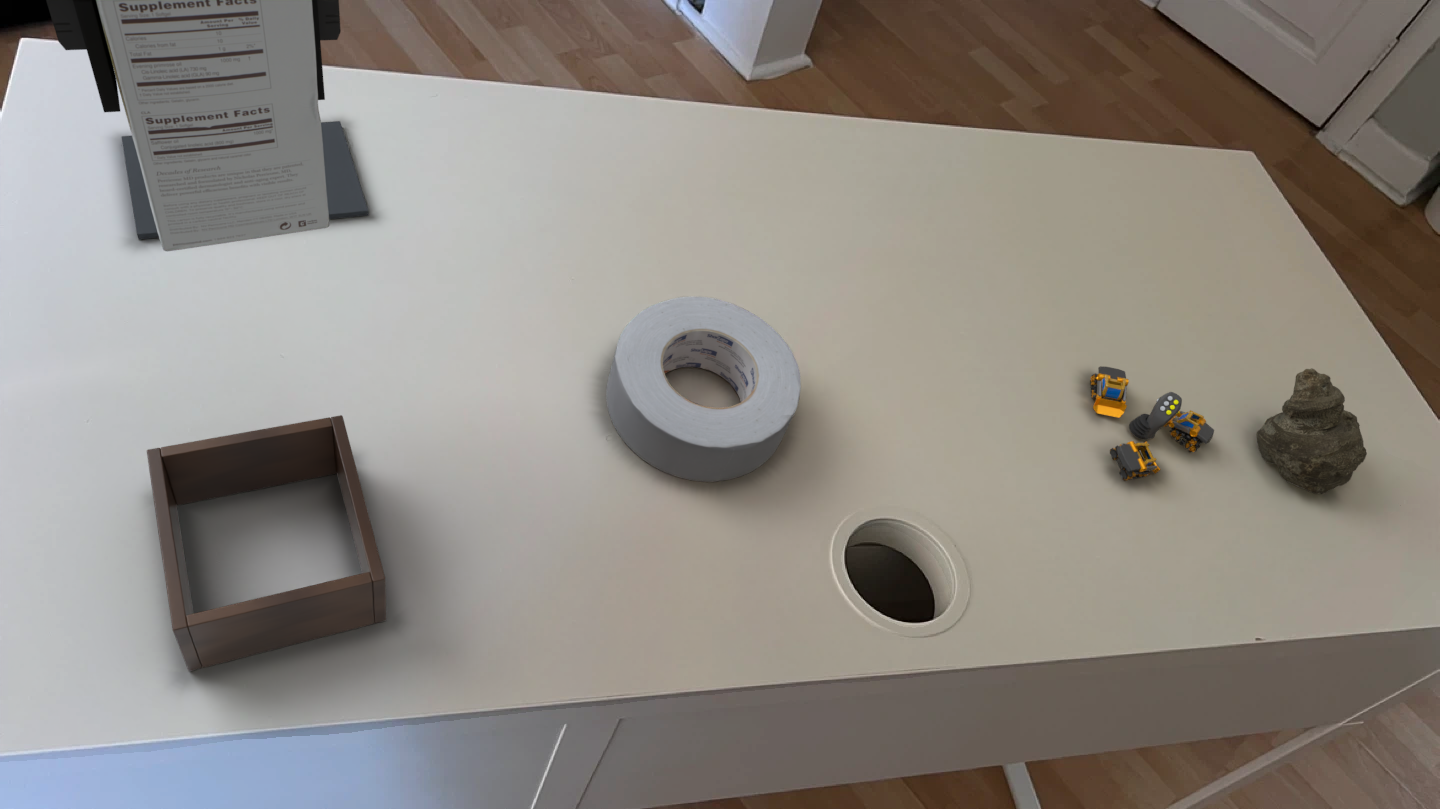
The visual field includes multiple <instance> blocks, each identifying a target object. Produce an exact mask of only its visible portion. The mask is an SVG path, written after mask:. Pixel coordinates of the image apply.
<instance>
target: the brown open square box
mask: <svg viewBox="0 0 1440 809" xmlns="http://www.w3.org/2000/svg"><path fill="white" fill-rule="evenodd" d="M146 456H147V463H148V471H149V478H150V485H151V491H152V497H153V498H152V499H153V505H154V511H155V518H156V525H157V533H158V539H159V545H160V552H161V560H162V568H163V573H164V582H165V587H166V593H167V600H168V608H169V616H170V621H171V622H170V623H171V629H172V632H173V635H174V637H175V640H176V643H177V645H178V647H179V651H180V653H181V656H182V658H183V661H184V663H185V666H186V669H187V671H188V672H193V671H196V670H201V669H203V668H209V667H212V666H216V665H220V664H223V663H228V662H232V661H235V660H239V659H243V658H248V657H251V656H255V655H258V654H262V653H266V652H269V651H274V650H277V649H281V648H285V647H289V646H293V645H297V644H302V643H305V642H309V641H312V640H317V639H321V638H324V637H329V636H332V635H336V634H340V633H344V632H348V631H351V630H355V629H359V628H363V627H366V626H370V625H374V624H379V623H383V622H386V621H387V589H386V588H387V585H386V584H387V583H386V581H387V580H386V575H385V572H384V568H383V563H382V560H381V557H380V552H379V550H378V545H377V541H376V537H375V534H374V529H373V525H372V522H371V518H370V515H369V511H368V506H367V504H366V500H365V496H364V492H363V488H362V484H361V482H360V481H361V480H360V476H359V473H358V469H357V466H356V462H355V457H354V454H353V450H352V445H351V442H350V439H349V435H348V431H347V427H346V423H345V419H344V416H343V415H341V414H340V415H335V416H331V417H323V418H318V419H313V420H307V421H301V422H295V423H290V424H284V425H278V426H272V427H268V428H262V429H255V430H250V431H246V432H245V431H244V432H238V433H233V434H228V435H223V436H216V437H212V438H206V439H199V440H194V441H188V442H182V443H178V444H172V445H166V446H161V447H155V448H149V449H147V450H146ZM332 475H336V477H337V480H338V484H339V488H340V492H341V497H342V500H343V504H344V508H345V511H346V516H347V520H348V524H349V528H350V532H351V535H352V540H353V543H354V547H355V552H356V555H357V561H358V564H359V568H360V571H361V573H358V574H354V575H349V576H345V577H341V578H337V579H332V580H329V581H324V582H321V583H315V584H311V585H307V586H303V587H299V588H295V589H291V590H287V591H281V592H279V593H274V594H269V595H265V596H261V597H257V598H252V599H249V600H245V601H241V602H236V603H232V604H228V605H224V606H219V607H216V608H211V609H207V610H203V611H199V612H194V605H193V600H192V594H191V588H190V587H191V586H190V582H189V581H190V580H189V575H188V574H189V573H188V566H187V562H186V556H185V548H184V543H183V536H182V530H181V523H180V519H179V510H178V506H181V505H187V504H192V503H196V502H197V503H198V502H201V501H202V502H203V501H207V500H212V499H218V498H222V497H226V496H232V495H237V494H242V493H248V492H253V491H257V490H262V489H267V488H272V487H277V486H283V485H287V484H291V483H297V482H303V481H307V480H312V479H318V478H322V477H323V478H324V477H326V476H332Z"/></svg>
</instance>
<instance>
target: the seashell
mask: <svg viewBox="0 0 1440 809" xmlns="http://www.w3.org/2000/svg"><path fill="white" fill-rule="evenodd" d="M1292 391H1293V393H1292V395H1291V396H1290V398H1289V399H1286V400H1285V401H1284V403H1283V405H1282V407H1281V412H1279V413H1276V414H1275V415H1273V416H1270V417H1269V418H1266V420H1265V422H1264V424H1263V425H1262V426H1261V428H1260V429H1258V431H1256V442H1257V447H1258V450H1259V453H1260V455H1261V458H1262V459H1263V460H1264V461H1265V463H1270V464H1274V465H1276V466H1277V468H1278V471H1279V472H1278V473H1279V475H1280V477H1281V478H1282V479H1283V480H1284V481H1286V482H1287V483H1290V484H1292V485H1294V486H1296V487H1298V488H1300V489H1303V490H1305V491H1307V492H1309V493H1312V494H1315V495H1317V494H1318V495H1319V494H1320V495H1323V494H1326V493H1328V492H1329V491H1332V490H1335V489H1336V488H1338V487H1342V486H1343V485H1345V484H1347V483H1349V481H1350V480H1351V479H1352V477H1353V474H1354V472H1355V471H1357V469H1358V468H1359V466H1360V465H1361V464H1362V463H1364V461H1365V460H1366V457H1367V454H1368V453H1367V449H1366V447H1365V445H1364V438H1363V435H1362V431H1361V429H1360V428H1361V427H1360V426H1361V425H1360V423H1359V422H1358V417H1357V415H1355V414H1353V413H1352V412H1351V411H1348V410H1345V405H1344V403H1345V401H1346V398H1345V395H1344V393H1343V392H1342V391H1341V389H1340V388H1338V387H1337V386H1335V385H1334V384H1333V383H1332V381H1331V376H1330V375H1328V374H1325V373H1320V372H1318V371H1317V370H1316V369H1315V368H1313V367H1312V368H1305V369H1304V370H1303V371H1300V372H1298V373H1296V375H1295V380H1294V387H1293V390H1292ZM1400 506H1401V505H1400Z"/></svg>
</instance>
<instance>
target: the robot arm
mask: <svg viewBox="0 0 1440 809" xmlns="http://www.w3.org/2000/svg"><path fill="white" fill-rule="evenodd" d="M45 1H46V5H47V9H48V11H49V15H50V18H51V21H52V24H53V28H54V31H55V34H56V38H57V41H58V43H59V44H60V45H61V47H62V48H63V49H64V50H65V51H81V50H82V51H83V50H86V52H87V55H88V59H89V64H90V68H91V70H92V75H93V77H94V81H95V85H96V88H97V92H98V96H99V99H100V103H101V106H102V110H103V113H120V112H121V104H120V97H119V88H118V83H117V80H116V76H115V72H114V68H113V65H112V61H111V57H110V53H109V49H108V46H107V42H106V38H105V34H104V30H103V27H102V23H101V19H100V15H99V11H98V7H97V3H96V0H45ZM312 9H313V23H314V36H315V50H316V68H317V89H318V101H325V100H326V94H325V82H324V70H323V57H322V56H323V55H322V45H321V41H338V39H339V37H340V35H341V32H342V31H341V30H342V29H341V13H340V0H312Z"/></svg>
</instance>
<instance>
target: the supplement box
mask: <svg viewBox="0 0 1440 809" xmlns="http://www.w3.org/2000/svg"><path fill="white" fill-rule="evenodd" d="M96 3H97V7H98V11H99V15H100V19H101V23H102V27H103V30H104V34H105V38H106V42H107V46H108V49H109V53H110V57H111V61H112V65H113V69H114V72H115V76H116V82H117V88H118V92H119V94H120V98H121V102H122V105H123V109H124V113H125V116H126V120H127V123H128V127H129V131H130V134H131V136H132V137H133V141H134V144H135V148H136V151H137V155H138V159H139V163H140V166H141V170H142V174H143V178H144V182H145V186H146V190H147V194H148V198H149V202H150V206H151V210H152V213H153V217H154V221H155V224H156V228H157V232H158V235H159V237H158V239H159V241H160V242H159V243H160V245H161V249H162V250H163V251H165V252H173V251H174V252H175V251H180V250H186V249H187V250H188V249H194V248H202V247H209V246H214V245H216V246H217V245H222V244H223V245H224V244H229V243H235V242H241V241H248V240H255V239H262V238H268V237H269V238H270V237H277V236H282V235H289V234H295V233H301V232H308V231H315V230H322V229H327V228H329V227H330V219H329V213H328V203H327V192H326V179H325V166H324V153H323V141H322V130H321V122H322V120H321V114H320V110H319V100H318V89H317V68H316V50H315V36H314V23H313V9H312V0H96Z"/></svg>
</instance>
